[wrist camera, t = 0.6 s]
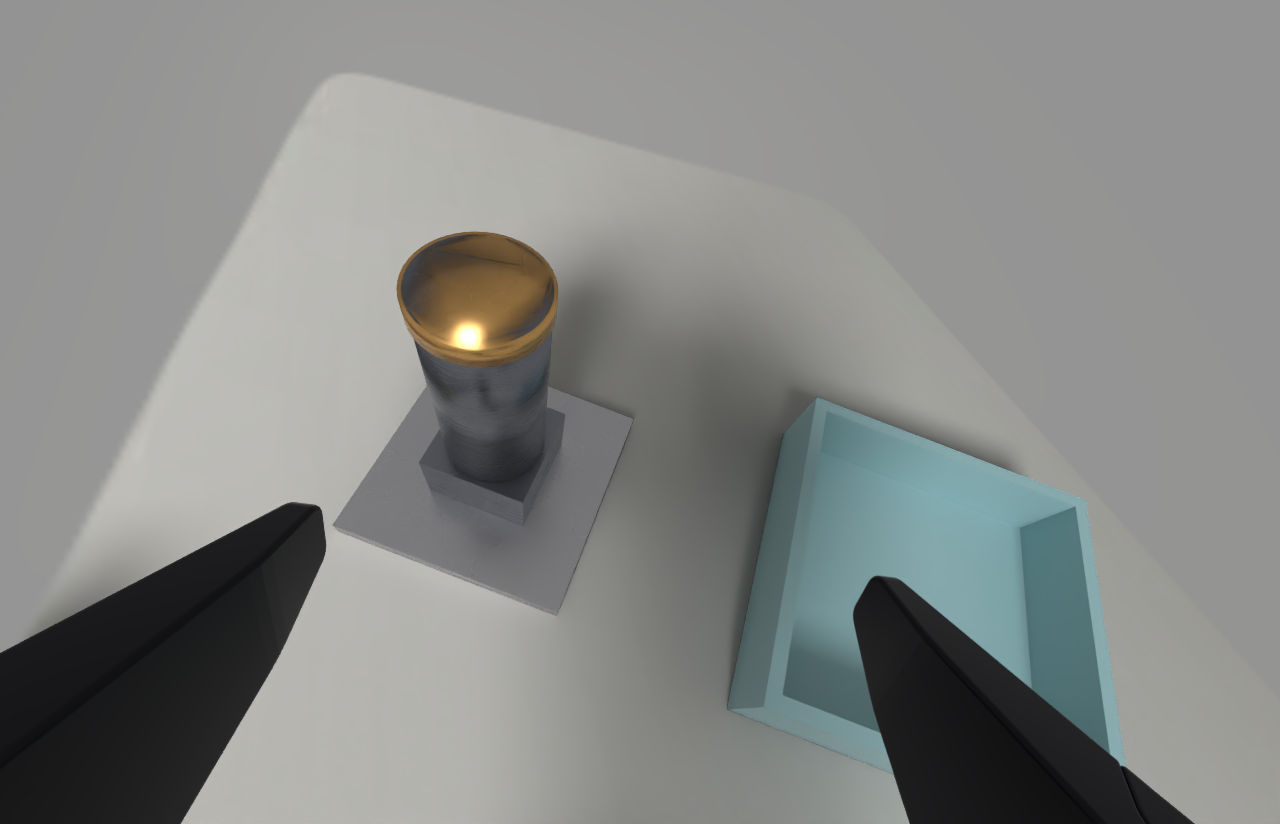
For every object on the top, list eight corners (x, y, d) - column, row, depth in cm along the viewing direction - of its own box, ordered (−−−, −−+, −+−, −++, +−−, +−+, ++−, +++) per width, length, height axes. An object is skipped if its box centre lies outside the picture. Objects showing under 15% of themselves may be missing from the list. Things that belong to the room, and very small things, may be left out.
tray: (1044, 832, 22) (1139, 852, 19) (726, 709, 22) (763, 707, 19) (1021, 525, 29) (1085, 500, 26) (783, 434, 29) (816, 396, 26)
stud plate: (556, 615, 23) (561, 599, 20) (338, 531, 23) (309, 502, 20) (630, 426, 28) (643, 391, 25) (453, 358, 28) (445, 315, 25)
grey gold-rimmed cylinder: (523, 526, 23) (521, 376, 13) (430, 490, 24) (356, 313, 13) (561, 444, 26) (585, 262, 16) (477, 411, 26) (445, 209, 16)
